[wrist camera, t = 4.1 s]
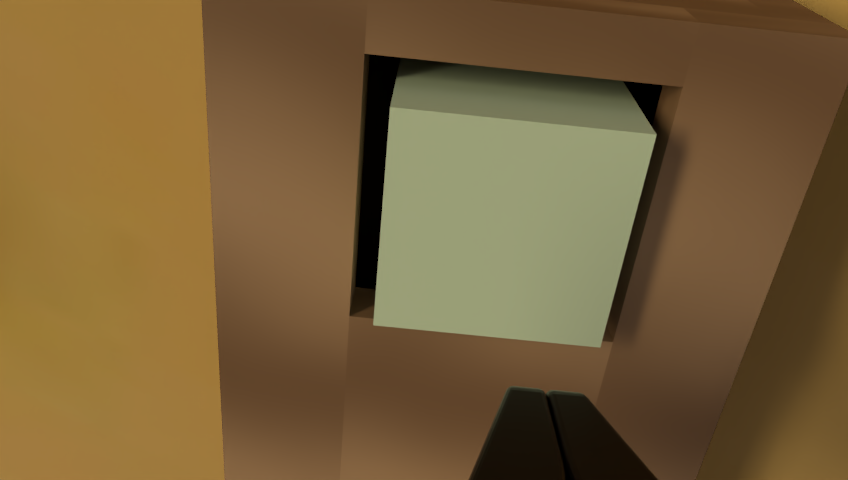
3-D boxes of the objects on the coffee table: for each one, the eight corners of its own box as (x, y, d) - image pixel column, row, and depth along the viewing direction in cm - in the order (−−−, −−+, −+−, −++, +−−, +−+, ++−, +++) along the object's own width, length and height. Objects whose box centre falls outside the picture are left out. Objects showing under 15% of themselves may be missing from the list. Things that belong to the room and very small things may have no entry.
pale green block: (574, 255, 16) (600, 347, 13) (387, 236, 16) (372, 325, 13) (616, 70, 14) (656, 134, 11) (402, 48, 14) (389, 107, 11)
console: (591, 556, 23) (615, 687, 20) (266, 526, 23) (232, 653, 20) (768, -14, 15) (864, 39, 11) (260, -68, 15) (199, -31, 11)
